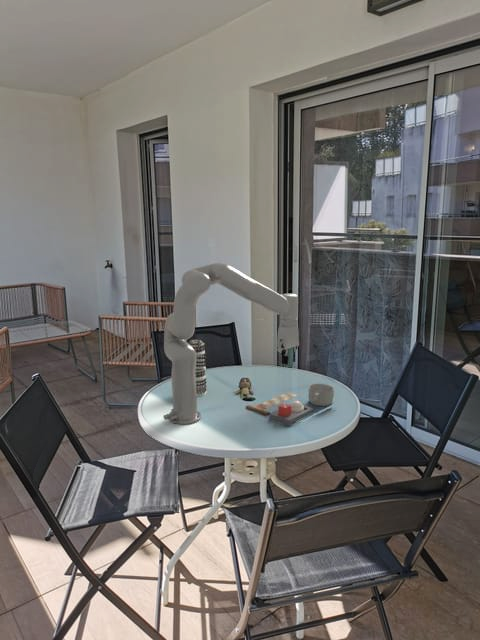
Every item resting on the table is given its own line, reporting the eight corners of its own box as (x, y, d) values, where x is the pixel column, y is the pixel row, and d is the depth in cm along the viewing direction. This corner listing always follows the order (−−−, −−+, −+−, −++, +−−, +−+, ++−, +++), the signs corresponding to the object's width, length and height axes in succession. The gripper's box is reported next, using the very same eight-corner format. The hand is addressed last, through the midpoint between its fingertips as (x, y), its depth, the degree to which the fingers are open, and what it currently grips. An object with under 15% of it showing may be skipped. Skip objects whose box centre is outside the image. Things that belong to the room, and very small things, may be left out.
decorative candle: (203, 397, 216) (201, 344, 210) (184, 395, 219) (182, 342, 213) (210, 390, 224) (208, 339, 219) (192, 388, 227) (190, 337, 222)
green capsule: (288, 367, 207) (288, 347, 206) (281, 365, 211) (281, 345, 209) (295, 365, 210) (295, 345, 209) (288, 363, 214) (288, 343, 212)
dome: (297, 417, 191) (297, 405, 190) (286, 413, 195) (286, 401, 194) (306, 413, 195) (306, 400, 194) (295, 409, 200) (295, 397, 198)
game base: (289, 426, 184) (289, 411, 183) (269, 419, 191) (269, 404, 190) (313, 414, 196) (313, 399, 194) (294, 407, 202) (294, 393, 201)
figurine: (235, 393, 210) (236, 375, 224) (236, 405, 213) (237, 387, 226) (253, 393, 210) (253, 375, 223) (253, 405, 212) (253, 387, 226)
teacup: (315, 398, 213) (315, 381, 211) (338, 403, 206) (338, 385, 205) (300, 408, 201) (300, 390, 200) (323, 414, 195) (324, 395, 194)
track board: (267, 415, 195) (267, 413, 194) (245, 408, 203) (245, 405, 203) (304, 398, 212) (304, 396, 212) (283, 392, 220) (283, 390, 220)
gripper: (294, 318, 215) (293, 357, 219) (269, 324, 203) (269, 365, 207) (307, 320, 210) (306, 360, 214) (283, 326, 198) (282, 368, 202)
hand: (288, 362), depth 210 cm, fingers closed on green capsule, 4 cm apart
